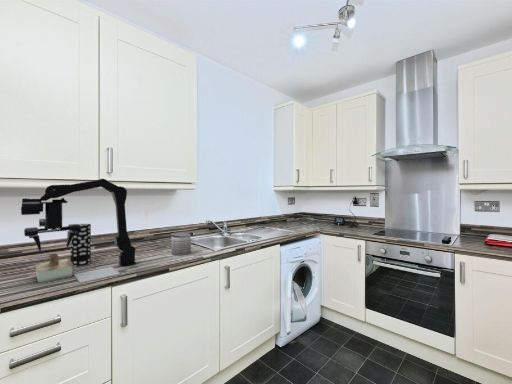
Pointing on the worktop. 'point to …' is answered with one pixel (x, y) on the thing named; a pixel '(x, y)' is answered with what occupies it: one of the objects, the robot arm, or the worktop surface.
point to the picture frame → (96, 274)
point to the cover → (53, 264)
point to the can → (180, 244)
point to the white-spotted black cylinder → (81, 246)
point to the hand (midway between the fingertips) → (54, 249)
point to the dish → (54, 274)
